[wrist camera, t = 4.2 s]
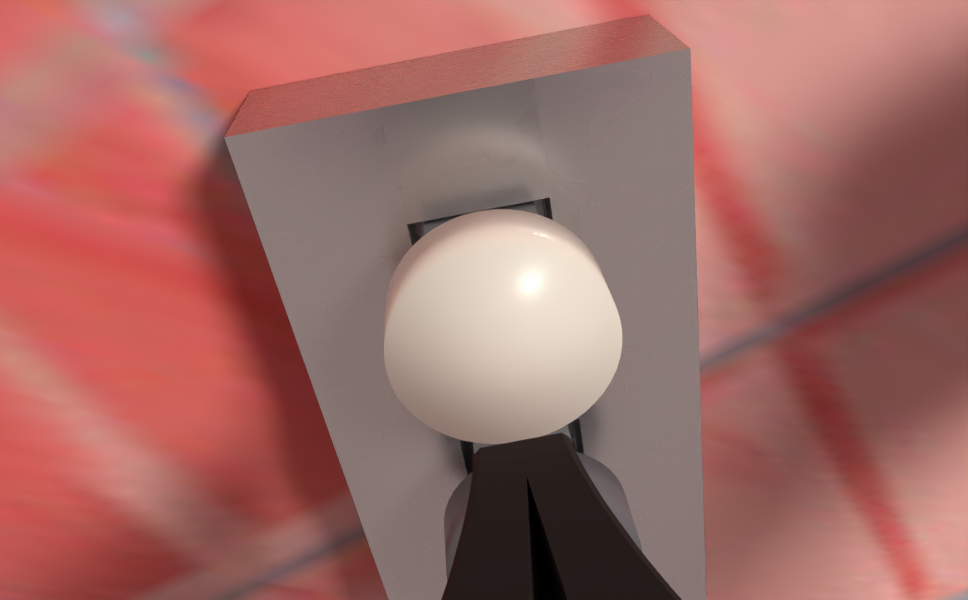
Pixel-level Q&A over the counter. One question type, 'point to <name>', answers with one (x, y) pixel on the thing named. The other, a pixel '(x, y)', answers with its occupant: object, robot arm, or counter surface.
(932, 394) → the counter surface
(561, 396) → the button ivory
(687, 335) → the panel
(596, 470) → the button charcoal
